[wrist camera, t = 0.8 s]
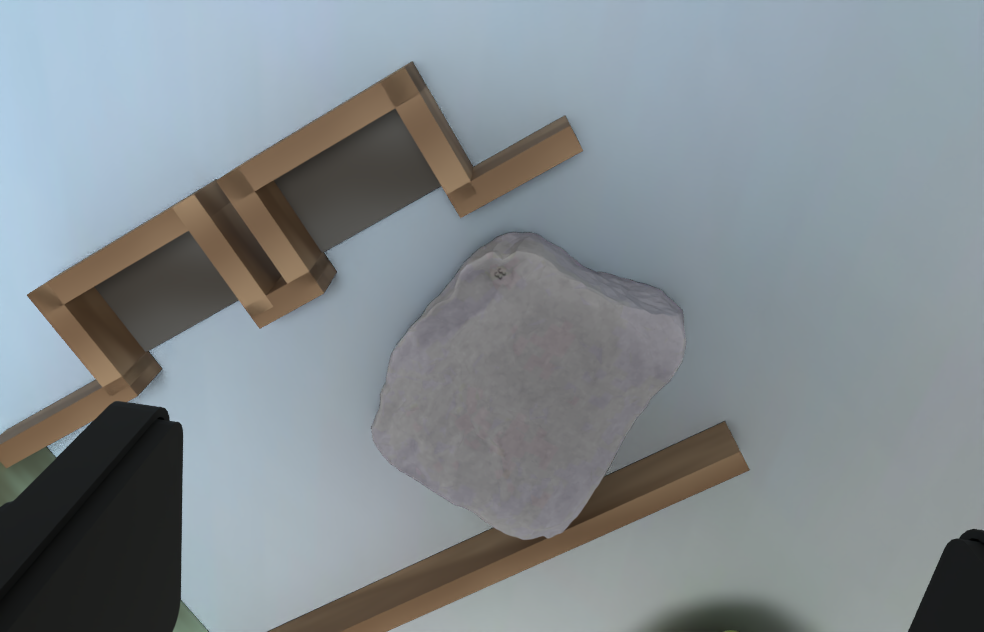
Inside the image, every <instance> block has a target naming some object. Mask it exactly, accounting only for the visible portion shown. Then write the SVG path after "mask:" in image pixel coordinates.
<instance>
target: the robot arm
mask: <svg viewBox="0 0 984 632" xmlns="http://www.w3.org/2000/svg"><path fill="white" fill-rule="evenodd" d="M182 474H183V429H182V425H181V424H180V423H179V422H173V421H170V420H169V415H168V411H167V410H166V409H165V408H162V407H156V406H149V405H142V404H136V403H129V402H122V401H114V402H113V403H111V404H110V405H109V406H108V407H107V408H106V409H105V410H104V411H103V412H102V413H101V414H100V415H99V416H98V417H97V418H96V419H95V420H94V421H93V422H92V423H91V424H90V425H89V426H88V427H87V428H86V429H85V430H84V431H83V432H82V433H81V434H80V435H79V436H78V437H77V438H76V439H75V440H74V441H73V442H72V443H71V444H70V445H69V446H68V447H67V448H66V449H65V450H64V451H63V452H62V453H61V454H60V455H59V456H58V457H57V458H56V459H55V460H54V461H53V462H52V463H51V464H50V465H49V466H48V467H47V468H46V469H45V470H44V471H43V472H42V473H41V474H40V475H39V476H38V477H37V478H36V479H35V480H34V481H33V482H32V483H31V484H30V485H29V486H28V487H27V488H26V489H25V490H24V491H23V492H22V493H21V494H20V495H19V496H18V497H17V498H16V499H15V500H14V501H11V502H7V503H5V504H3V505H2V506H1V507H0V632H173V630H174V627H175V624H176V622H177V618H178V614H179V609H180V601H181V543H182ZM908 632H984V530H977V529H972V530H968V531H966V532H965V533H963V534H962V535H961V536H960V538H959V539H953V540H951V541H950V542H949V543H948V544H947V545H946V547H945V549H944V551H943V553H942V555H941V558H940V560H939V562H938V565H937V567H936V569H935V571H934V574H933V576H932V578H931V581H930V583H929V585H928V587H927V590H926V592H925V594H924V597H923V599H922V601H921V603H920V606H919V608H918V610H917V613H916V615H915V617H914V619H913V622H912V624H911V626H910V629H909V631H908Z"/></svg>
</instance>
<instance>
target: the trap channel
mask: <svg viewBox="0 0 984 632" xmlns="http://www.w3.org/2000/svg"><path fill="white" fill-rule="evenodd" d="M582 151H583V150H582V148H581V145H580V143H579V141H578V139H577V137H576V135H575V133H574V131H573V129H572V128H571V126H570V124H569V122H568V120H567V118H566V116H563V117H561V118H559V119H558V120H556V121H554V122H552V123H550V124H549V125H547V126H545V127H543V128H542V129H540V130H538V131H536V132H535V133H533V134H531V135H529V136H527V137H526V138H524V139H522V140H520V141H519V142H517V143H515V144H513V145H511V146H510V147H508V148H506V149H504V150H503V151H501V152H499V153H497V154H495V155H494V156H492V157H490V158H488V159H487V160H485V161H483V162H481V163H479V164H478V165H476V166H474V167H473V166H472V164H471V162H470V160H469V159H468V157H467V155H466V154H465V152H464V150H463V148H462V147H461V145H460V143H459V141H458V140H457V138H456V136H455V134H454V133H453V131H452V129H451V127H450V126H449V124H448V122H447V120H446V119H445V117H444V115H443V114H442V112H441V110H440V108H439V107H438V105H437V103H436V101H435V100H434V98H433V96H432V94H431V93H430V91H429V89H428V87H427V86H426V84H425V82H424V81H423V79H422V77H421V75H420V74H419V72H418V70H417V68H416V67H415V65H414V63H413V61H412V62H410V63H408V64H407V65H405V66H404V67H402V68H400V69H399V70H397V71H395V72H394V73H392V74H390V75H389V76H387V77H385V78H384V79H382V80H380V81H379V82H377V83H375V84H374V85H372V86H370V87H369V88H367V89H365V90H364V91H362V92H360V93H359V94H357V95H355V96H354V97H352V98H350V99H349V100H347V101H345V102H344V103H342V104H340V105H339V106H337V107H336V108H334V109H332V110H331V111H329V112H327V113H326V114H324V115H322V116H321V117H319V118H317V119H316V120H314V121H312V122H311V123H309V124H307V125H306V126H304V127H302V128H301V129H299V130H297V131H296V132H294V133H292V134H291V135H289V136H287V137H286V138H284V139H282V140H281V141H279V142H277V143H276V144H274V145H273V146H271V147H269V148H268V149H266V150H264V151H263V152H261V153H259V154H258V155H256V156H254V157H253V158H251V159H249V160H248V161H246V162H244V163H243V164H241V165H239V166H238V167H236V168H235V169H233V170H232V171H230V172H229V173H227V174H226V175H224V176H223V177H221V178H220V179H218V180H217V179H216V180H214V181H213V182H211V183H209V184H208V185H206V186H205V187H203V188H201V189H200V190H198V191H196V192H195V193H193V194H191V195H190V196H188V197H186V198H185V199H183V200H181V201H180V202H178V203H176V204H175V205H173V206H171V207H170V208H168V209H166V210H165V211H163V212H161V213H160V214H158V215H156V216H155V217H153V218H151V219H150V220H148V221H146V222H145V223H143V224H141V225H140V226H138V227H137V228H135V229H133V230H132V231H130V232H128V233H127V234H125V235H123V236H122V237H120V238H118V239H117V240H115V241H113V242H112V243H110V244H108V245H107V246H105V247H103V248H102V249H100V250H98V251H97V252H95V253H93V254H92V255H90V256H88V257H87V258H85V259H83V260H82V261H80V262H78V263H77V264H75V265H73V266H72V267H70V268H69V269H67V270H65V271H64V272H62V273H60V274H59V275H57V276H56V277H54V278H52V279H51V280H49V281H48V282H46V283H45V284H43V285H41V286H40V287H38V288H37V289H35V290H34V291H32V292H30V293H29V294H27V296H28V297H29V299H30V300H31V301H32V302H33V303H34V305H35V306H36V307H37V308H38V310H39V311H40V312H41V313H42V314H43V316H44V317H45V318H46V319H47V320H48V322H49V323H50V324H51V325H52V327H53V328H54V329H55V330H56V331H57V333H58V334H59V335H60V336H61V338H62V339H63V340H64V341H65V342H66V344H67V345H68V346H69V347H70V348H71V350H72V351H73V352H74V353H75V355H76V356H77V357H78V358H79V359H80V361H81V362H82V363H83V364H84V365H85V367H86V368H87V369H88V370H89V372H90V373H91V374H92V375H93V376H94V378H95V379H96V380H94V381H92V382H91V383H89V384H87V385H85V386H84V387H82V388H80V389H78V390H76V391H75V392H73V393H71V394H69V395H68V396H66V397H64V398H62V399H60V400H59V401H57V402H55V403H53V404H52V405H50V406H48V407H46V408H44V409H43V410H41V411H39V412H37V413H36V414H34V415H32V416H30V417H28V418H27V419H25V420H23V421H21V422H20V423H18V424H16V425H14V426H12V427H11V428H9V429H7V430H6V431H5V432H3V433H2V434H1V435H0V507H1V506H2V505H3V504H5V503H7V502H11V501H14V500H15V499H16V498H17V497H18V496H19V495H20V494H21V493H22V492H23V491H24V490H25V489H26V488H27V487H28V486H29V485H30V484H31V483H32V482H33V481H34V480H35V479H36V478H37V477H38V476H39V475H40V474H41V473H42V472H43V471H44V470H45V469H46V468H47V467H48V466H49V465H50V464H51V463H52V462H53V461H54V460H55V459H56V457H55V456H54V455H53V454H52V453H51V452H50V451H49V449H48V448H47V447H46V446H48V445H50V444H52V443H53V442H55V441H57V440H59V439H61V438H62V437H64V436H66V435H68V434H70V433H72V432H73V431H75V430H77V429H79V428H81V427H82V426H84V425H86V424H88V423H90V422H91V421H93V420H95V419H96V418H97V417H98V416H99V415H100V414H101V413H102V412H103V411H104V410H105V409H106V408H107V407H108V406H109V405H110V404H111V403H113V402H114V401H122V402H128V401H130V400H131V399H133V398H135V397H137V396H138V395H139V394H140V393H141V392H142V391H143V390H144V389H145V387H146V386H147V385H148V384H149V383H150V382H151V381H152V380H153V379H154V378H155V376H156V375H157V374H158V373H159V372H160V371H161V370H162V368H161V367H160V365H159V364H158V363H157V362H156V360H155V359H154V358H153V356H152V355H151V354H150V353H149V350H151V349H153V348H154V347H156V346H158V345H160V344H161V343H163V342H165V341H167V340H169V339H170V338H172V337H174V336H176V335H177V334H179V333H181V332H183V331H185V330H186V329H188V328H190V327H192V326H193V325H195V324H197V323H199V322H200V321H202V320H204V319H206V318H208V317H209V316H211V315H213V314H215V313H216V312H218V311H220V310H222V309H224V308H225V307H227V306H229V305H231V304H232V303H234V302H236V301H238V300H239V301H240V302H241V304H242V305H243V306H244V308H245V309H246V311H247V312H248V313H249V315H250V316H251V317H252V319H253V320H254V322H255V323H256V324H257V326H258V327H259V329H260V328H262V327H264V326H266V325H268V324H269V323H271V322H273V321H275V320H277V319H278V318H280V317H282V316H284V315H286V314H288V313H289V312H291V311H293V310H295V309H297V308H298V307H300V306H302V305H304V304H306V303H307V302H309V301H311V300H313V299H315V298H317V297H318V296H320V295H322V294H324V293H325V291H326V289H327V288H328V286H329V284H330V283H331V281H332V279H333V278H334V276H335V274H336V273H337V272H336V270H335V269H334V267H333V266H332V264H331V263H330V261H329V260H328V258H327V257H326V255H325V254H324V252H325V251H327V250H328V249H330V248H332V247H334V246H335V245H337V244H339V243H341V242H343V241H344V240H346V239H348V238H350V237H351V236H353V235H355V234H357V233H359V232H360V231H362V230H364V229H366V228H367V227H369V226H371V225H373V224H375V223H376V222H378V221H380V220H382V219H383V218H385V217H387V216H389V215H391V214H392V213H394V212H396V211H398V210H399V209H401V208H403V207H405V206H407V205H408V204H410V203H412V202H414V201H415V200H417V199H419V198H421V197H423V196H424V195H426V194H428V193H430V192H431V191H433V190H435V189H437V188H439V187H440V186H442V188H443V189H444V191H445V193H446V194H447V196H448V198H449V199H450V201H451V203H452V204H453V206H454V208H455V209H456V211H457V213H458V215H459V216H460V218H462V217H464V216H465V215H467V214H469V213H471V212H473V211H475V210H476V209H478V208H480V207H482V206H484V205H485V204H487V203H489V202H491V201H493V200H494V199H496V198H498V197H500V196H502V195H504V194H505V193H507V192H509V191H511V190H513V189H514V188H516V187H518V186H520V185H522V184H524V183H525V182H527V181H529V180H531V179H533V178H534V177H536V176H538V175H540V174H542V173H543V172H545V171H547V170H549V169H551V168H553V167H554V166H556V165H558V164H560V163H562V162H563V161H565V160H567V159H569V158H571V157H573V156H574V155H576V154H578V153H580V152H582ZM749 470H750V469H749V468H748V466H747V464H746V462H745V460H744V458H743V456H742V454H741V452H740V450H739V448H738V446H737V444H736V442H735V440H734V438H733V436H732V434H731V432H730V430H729V428H728V426H727V424H726V423H725V422H722V423H720V424H718V425H716V426H714V427H712V428H709V429H707V430H705V431H703V432H701V433H699V434H696V435H694V436H692V437H690V438H688V439H685V440H683V441H681V442H679V443H677V444H675V445H672V446H670V447H668V448H666V449H664V450H662V451H659V452H657V453H655V454H653V455H651V456H648V457H646V458H644V459H642V460H640V461H638V462H635V463H633V464H631V465H629V466H627V467H625V468H622V469H620V470H618V471H616V472H614V473H612V474H609V475H607V476H605V477H603V479H602V480H601V482H600V484H599V485H598V486H597V488H596V489H595V490H594V492H593V494H592V495H591V497H590V499H589V500H588V502H587V504H586V505H585V507H584V508H583V509H582V511H581V512H580V514H579V515H578V516H577V517H576V518H575V519H574V520H573V521H572V522H571V523H570V524H569V526H568V527H567V528H566V529H565V530H564V532H563V533H560V534H557V535H555V536H553V537H551V538H546V537H544V536H541V537H538V538H534V539H529V540H522V539H520V538H517V537H513V536H509V535H507V534H505V533H503V532H501V531H499V530H497V529H495V528H492V529H490V530H488V531H485V532H483V533H481V534H479V535H477V536H475V537H472V538H470V539H468V540H466V541H464V542H462V543H459V544H457V545H455V546H453V547H451V548H448V549H446V550H444V551H442V552H440V553H438V554H435V555H433V556H431V557H429V558H427V559H425V560H422V561H420V562H418V563H416V564H414V565H412V566H409V567H407V568H405V569H403V570H401V571H398V572H396V573H394V574H392V575H390V576H388V577H385V578H383V579H381V580H379V581H377V582H375V583H372V584H370V585H368V586H366V587H364V588H362V589H359V590H357V591H355V592H353V593H351V594H348V595H346V596H344V597H342V598H340V599H338V600H335V601H333V602H331V603H329V604H327V605H325V606H322V607H320V608H318V609H316V610H314V611H311V612H309V613H307V614H305V615H303V616H301V617H298V618H296V619H294V620H292V621H290V622H288V623H285V624H283V625H281V626H279V627H277V628H275V629H272V630H270V631H268V632H387V631H389V630H391V629H393V628H396V627H398V626H400V625H402V624H405V623H407V622H409V621H411V620H414V619H416V618H418V617H420V616H423V615H425V614H427V613H429V612H432V611H434V610H436V609H438V608H441V607H443V606H445V605H447V604H450V603H452V602H454V601H456V600H459V599H461V598H463V597H465V596H468V595H470V594H472V593H474V592H477V591H479V590H481V589H483V588H486V587H488V586H490V585H492V584H495V583H497V582H499V581H501V580H504V579H506V578H508V577H510V576H513V575H515V574H517V573H519V572H522V571H524V570H526V569H528V568H531V567H533V566H535V565H537V564H540V563H542V562H544V561H546V560H549V559H551V558H553V557H555V556H558V555H560V554H562V553H564V552H567V551H569V550H571V549H573V548H576V547H578V546H580V545H582V544H585V543H587V542H589V541H591V540H594V539H596V538H598V537H600V536H603V535H605V534H607V533H609V532H612V531H614V530H616V529H618V528H621V527H623V526H625V525H627V524H630V523H632V522H634V521H636V520H639V519H641V518H643V517H645V516H648V515H650V514H652V513H654V512H657V511H659V510H661V509H663V508H666V507H668V506H670V505H672V504H675V503H677V502H679V501H681V500H684V499H686V498H688V497H690V496H693V495H695V494H697V493H699V492H702V491H704V490H706V489H708V488H711V487H713V486H715V485H717V484H720V483H722V482H724V481H726V480H729V479H731V478H733V477H735V476H738V475H740V474H742V473H744V472H747V471H749ZM173 632H208V631H207V630H206V629H205V627H204V626H203V625H202V624H201V623H200V622H199V621H198V619H197V618H196V617H195V616H194V615H193V614H192V613H191V611H190V610H189V609H188V608H187V607H186V606H185V605H184V603H183V602H182V601H180V609H179V614H178V618H177V622H176V624H175V627H174V630H173Z"/></svg>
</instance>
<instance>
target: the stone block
mask: <svg viewBox="0 0 984 632" xmlns="http://www.w3.org/2000/svg"><path fill="white" fill-rule="evenodd" d="M685 348H686V335H685V329H684V316H683V310H682V309H681V308H680V307H679V306H678V305H677V304H676V303H675V302H674V301H673V300H672V299H670V298H669V297H668V296H667V295H666V294H665V293H664V292H663V291H662V290H660V289H658V288H655V287H652V286H650V285H647V284H644V283H638V282H635V281H633V280H631V279H625V278H620V277H617V276H615V275H612V274H608V273H605V272H595V271H593V270H591V269H589V268H586V267H584V266H582V265H581V264H580V263H579V262H578V261H576V260H575V259H574V258H573V257H571V256H570V255H569V254H568V253H567V252H566V251H565V250H564V249H562V248H560V247H558V246H556V245H554V244H553V243H550V242H548V241H547V240H545V239H544V238H543V237H541V236H540V235H538V234H535V233H531V232H526V233H516V232H511V233H506V234H503V235H501V236H498V237H496V238H495V239H494V240H493V241H491V242H489V243H488V244H486V245H484V246H482V247H481V248H479V249H478V250H477V251H476V252H474V253H473V254H472V256H471V257H470V258H468V259H467V260H466V261H465V262H464V264H463V265H462V266H461V268H460V269H459V270H458V272H457V274H456V275H455V276H454V278H453V279H452V280H451V282H450V283H449V284H448V285H447V286H446V288H445V289H444V290H443V291H442V293H441V294H440V295H439V296H438V297H437V298H435V299H434V300H433V301H432V302H431V303H430V304H429V305H428V306H427V308H426V309H425V311H424V313H423V315H422V316H421V317H420V318H419V319H418V320H417V321H416V322H415V323H414V324H413V325H412V326H411V327H410V328H409V329H408V331H407V333H406V334H405V335H404V337H403V338H402V339H401V340H400V341H399V343H398V344H397V345H396V347H395V348H394V350H393V352H392V353H391V356H390V361H389V366H388V371H387V375H386V383H385V384H384V386H383V388H382V391H381V393H380V405H379V409H378V412H377V414H376V416H375V419H374V421H373V424H372V426H371V429H372V431H371V432H372V438H373V442H374V443H375V445H376V447H377V448H378V450H379V451H380V452H381V453H382V455H383V456H384V457H385V458H386V459H387V461H388V462H389V463H390V464H391V465H393V466H394V467H396V468H397V469H398V470H399V471H401V472H403V473H406V474H407V475H408V476H410V477H413V478H414V479H415V480H417V481H418V482H420V483H421V484H423V485H424V486H426V487H427V488H429V489H430V490H432V491H433V492H435V493H436V494H438V495H440V496H441V497H443V498H445V499H446V500H448V501H449V502H451V503H452V504H454V505H457V506H460V507H463V508H466V509H468V510H470V511H472V512H474V513H475V514H476V515H477V516H479V517H480V518H481V519H482V520H484V521H485V522H486V523H488V524H490V525H491V526H492V527H494V528H495V529H497V530H499V531H501V532H503V533H505V534H507V535H509V536H513V537H517V538H520V539H522V540H529V539H534V538H538V537H541V536H544V537H546V538H551V537H553V536H555V535H557V534H560V533H563V532H564V530H565V529H566V528H567V527H568V526H569V524H570V523H571V522H572V521H573V520H574V519H575V518H576V517H577V516H578V515H579V514H580V512H581V511H582V509H583V508H584V507H585V505H586V504H587V502H588V500H589V499H590V497H591V495H592V494H593V492H594V490H595V489H596V488H597V486H598V485H599V484H600V482H601V480H602V479H603V477H604V475H605V473H606V472H607V470H608V468H609V467H610V465H611V463H612V462H613V460H614V458H615V456H616V454H617V452H618V450H619V448H620V446H621V444H622V442H623V440H624V438H625V436H626V435H627V433H628V431H629V430H630V428H631V427H632V425H633V423H634V422H635V420H636V419H637V417H638V416H639V415H640V414H641V413H642V412H643V410H644V409H645V408H646V407H647V405H648V403H649V402H650V400H651V398H652V397H653V396H654V395H655V394H656V393H657V392H658V391H659V390H661V389H662V388H663V387H664V386H665V385H666V384H667V383H668V382H669V381H670V380H671V379H672V377H673V376H674V374H675V373H676V371H677V370H678V368H679V366H680V365H681V363H682V361H683V357H684V353H685Z"/></svg>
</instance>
